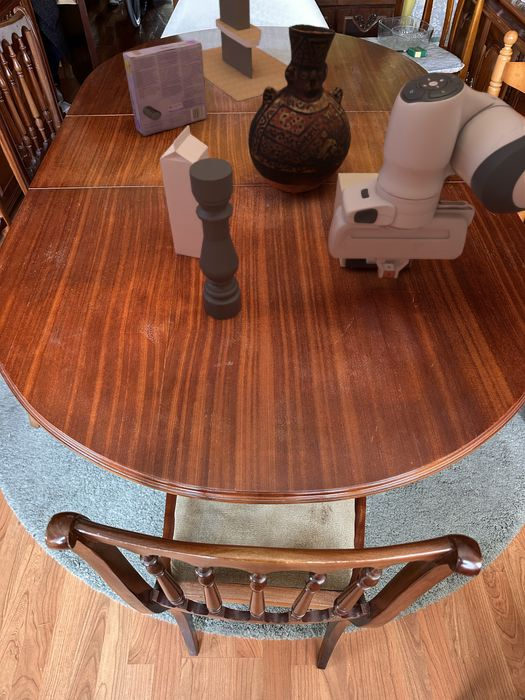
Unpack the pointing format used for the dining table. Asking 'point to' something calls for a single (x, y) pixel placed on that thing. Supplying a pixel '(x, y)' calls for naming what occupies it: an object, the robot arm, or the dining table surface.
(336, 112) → the ceramic vessel
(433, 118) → the robot arm
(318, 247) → the dining table surface
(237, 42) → the architectural model
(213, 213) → the candle holder
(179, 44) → the cake pan box
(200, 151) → the milk
